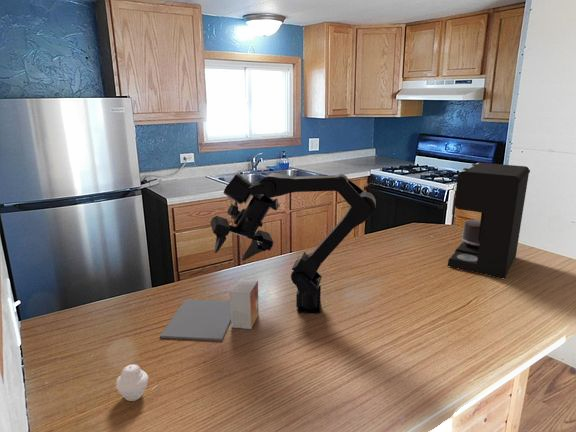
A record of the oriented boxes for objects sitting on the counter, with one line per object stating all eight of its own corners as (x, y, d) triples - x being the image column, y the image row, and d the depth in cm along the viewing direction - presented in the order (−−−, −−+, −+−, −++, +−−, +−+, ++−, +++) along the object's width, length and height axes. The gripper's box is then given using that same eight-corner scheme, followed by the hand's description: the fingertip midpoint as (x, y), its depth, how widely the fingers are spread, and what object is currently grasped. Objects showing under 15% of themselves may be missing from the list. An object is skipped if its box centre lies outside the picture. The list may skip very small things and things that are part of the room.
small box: (251, 330, 108) (250, 293, 105) (230, 327, 109) (229, 291, 106) (259, 315, 115) (258, 280, 112) (240, 313, 116) (238, 278, 114)
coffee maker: (464, 244, 170) (475, 160, 161) (518, 254, 159) (532, 164, 150) (445, 266, 148) (455, 169, 139) (505, 279, 137) (521, 175, 128)
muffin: (110, 402, 82) (106, 371, 80) (132, 383, 88) (128, 354, 86) (136, 409, 80) (132, 379, 78) (156, 389, 86) (153, 360, 84)
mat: (238, 303, 122) (238, 301, 122) (222, 340, 103) (222, 338, 103) (186, 300, 123) (185, 299, 123) (160, 337, 104) (159, 335, 104)
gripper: (274, 208, 126) (249, 247, 131) (219, 188, 116) (196, 231, 122) (285, 228, 117) (258, 270, 123) (227, 209, 108) (201, 254, 113)
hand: (229, 256), depth 120 cm, fingers open, 9 cm apart
